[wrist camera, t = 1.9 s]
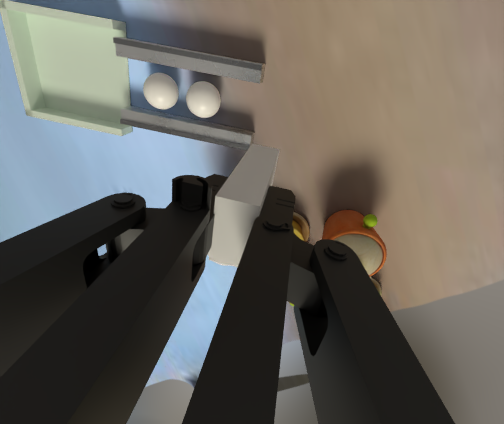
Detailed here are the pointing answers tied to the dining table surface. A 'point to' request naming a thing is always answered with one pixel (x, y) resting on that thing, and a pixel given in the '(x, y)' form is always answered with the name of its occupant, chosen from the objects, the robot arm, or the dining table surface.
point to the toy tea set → (351, 237)
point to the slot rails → (195, 63)
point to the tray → (68, 66)
